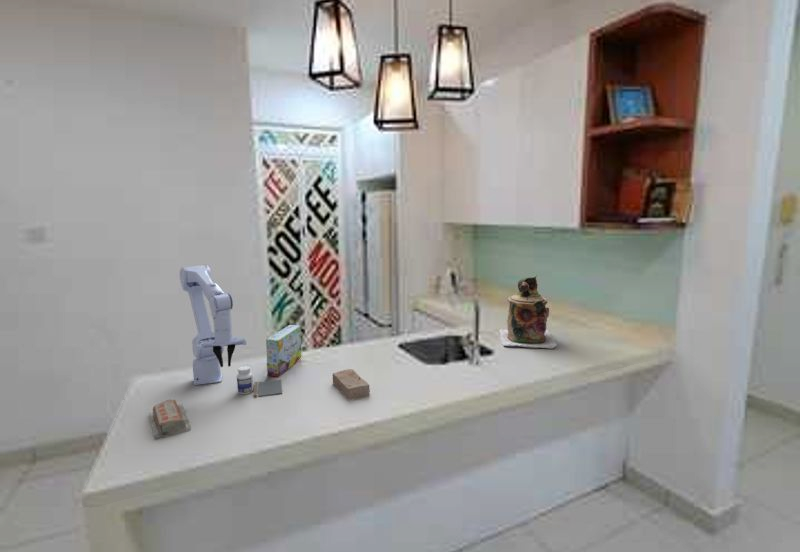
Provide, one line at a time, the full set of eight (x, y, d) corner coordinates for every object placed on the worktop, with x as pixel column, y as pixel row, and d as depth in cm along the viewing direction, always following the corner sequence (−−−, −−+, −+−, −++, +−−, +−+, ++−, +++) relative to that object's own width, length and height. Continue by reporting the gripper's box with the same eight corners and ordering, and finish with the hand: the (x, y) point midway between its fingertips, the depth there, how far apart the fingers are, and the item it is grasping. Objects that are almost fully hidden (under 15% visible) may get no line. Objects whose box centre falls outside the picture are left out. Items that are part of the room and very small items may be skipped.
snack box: (280, 377, 175) (278, 340, 172) (266, 376, 176) (264, 339, 173) (302, 358, 195) (301, 324, 192) (290, 357, 196) (288, 323, 193)
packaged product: (190, 416, 135) (153, 425, 130) (192, 431, 136) (154, 441, 130) (181, 394, 150) (147, 402, 144) (182, 408, 151) (148, 416, 145)
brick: (371, 395, 159) (370, 383, 158) (349, 401, 155) (348, 388, 154) (352, 379, 173) (352, 368, 172) (331, 384, 169) (331, 372, 168)
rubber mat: (258, 396, 158) (258, 395, 158) (258, 383, 169) (258, 382, 169) (282, 393, 160) (282, 392, 160) (280, 380, 171) (280, 379, 171)
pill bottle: (240, 388, 165) (238, 365, 163) (254, 388, 165) (253, 365, 163) (235, 394, 159) (234, 371, 158) (251, 394, 160) (249, 370, 158)
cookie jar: (498, 331, 232) (500, 270, 226) (548, 333, 228) (551, 271, 222) (502, 347, 207) (505, 279, 202) (558, 350, 204) (562, 280, 198)
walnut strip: (254, 397, 157) (254, 395, 157) (254, 383, 169) (254, 381, 169) (257, 397, 158) (257, 394, 158) (257, 383, 169) (257, 381, 169)
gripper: (198, 333, 150) (201, 372, 153) (244, 329, 154) (247, 367, 157) (201, 327, 157) (204, 365, 159) (245, 324, 161) (247, 360, 164)
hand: (225, 365), depth 159 cm, fingers closed
